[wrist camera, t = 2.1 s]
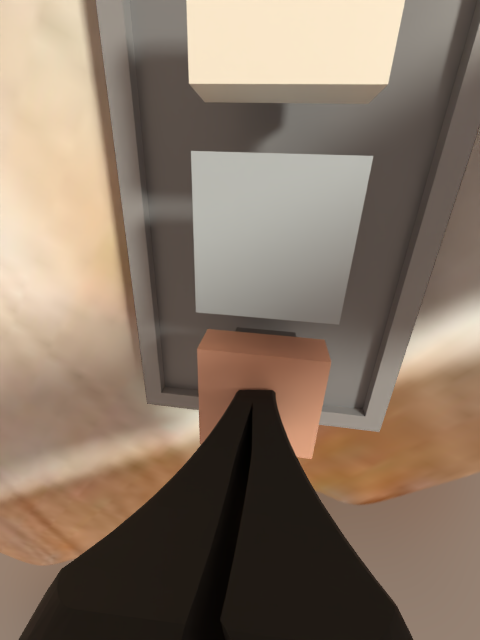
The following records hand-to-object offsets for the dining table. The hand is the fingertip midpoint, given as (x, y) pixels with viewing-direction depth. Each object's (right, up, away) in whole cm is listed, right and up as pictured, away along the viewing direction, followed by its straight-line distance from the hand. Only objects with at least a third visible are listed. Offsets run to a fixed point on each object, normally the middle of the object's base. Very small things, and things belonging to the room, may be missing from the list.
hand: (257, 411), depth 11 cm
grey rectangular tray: (+1, +8, +3) cm, 9 cm away
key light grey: (+1, +7, +1) cm, 7 cm away
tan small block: (+1, +2, +4) cm, 4 cm away
